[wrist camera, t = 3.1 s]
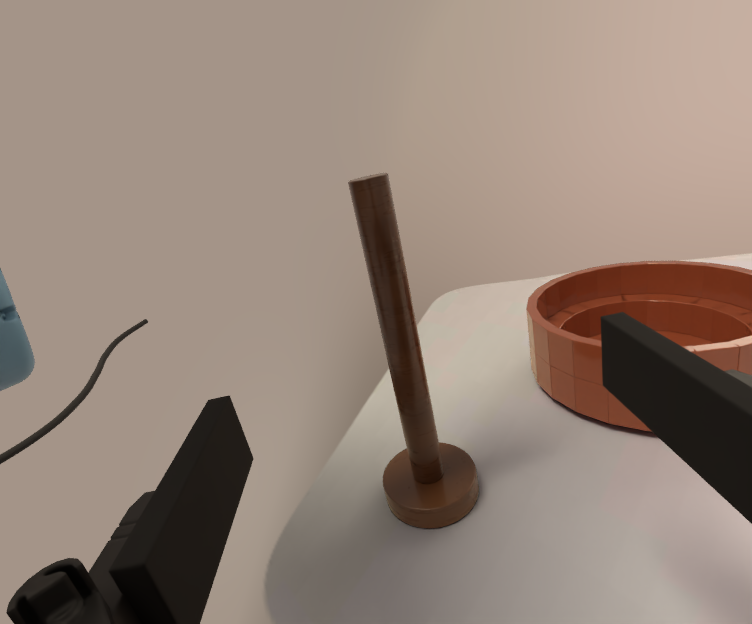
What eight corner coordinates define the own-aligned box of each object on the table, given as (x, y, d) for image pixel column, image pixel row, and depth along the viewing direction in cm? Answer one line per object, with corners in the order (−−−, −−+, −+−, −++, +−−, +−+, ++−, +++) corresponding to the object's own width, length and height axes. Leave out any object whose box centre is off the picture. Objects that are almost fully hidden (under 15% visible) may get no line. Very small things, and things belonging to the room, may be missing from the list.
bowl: (491, 368, 41) (483, 305, 38) (628, 310, 46) (627, 251, 44) (681, 481, 25) (686, 385, 23) (854, 372, 30) (872, 285, 28)
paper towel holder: (373, 482, 30) (296, 190, 23) (446, 447, 32) (395, 166, 25) (413, 546, 25) (328, 191, 18) (498, 499, 27) (452, 160, 20)
